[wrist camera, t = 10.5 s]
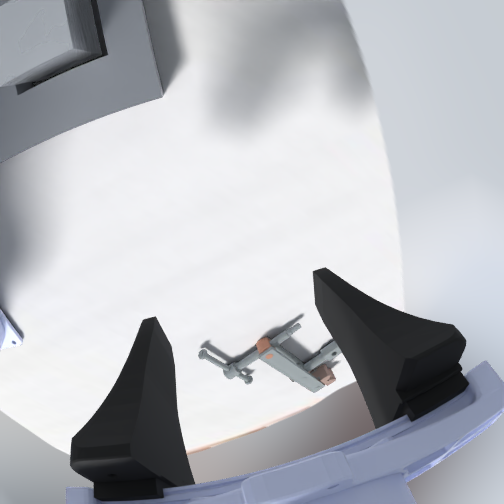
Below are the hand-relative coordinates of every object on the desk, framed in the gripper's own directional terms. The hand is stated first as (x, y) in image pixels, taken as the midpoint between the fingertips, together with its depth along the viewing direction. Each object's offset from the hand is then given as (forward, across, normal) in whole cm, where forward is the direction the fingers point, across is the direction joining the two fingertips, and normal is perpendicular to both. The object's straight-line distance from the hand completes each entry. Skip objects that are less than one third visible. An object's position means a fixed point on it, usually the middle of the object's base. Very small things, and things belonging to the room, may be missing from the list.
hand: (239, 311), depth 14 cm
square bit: (+10, +6, -14) cm, 18 cm away
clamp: (+10, -3, +17) cm, 20 cm away
